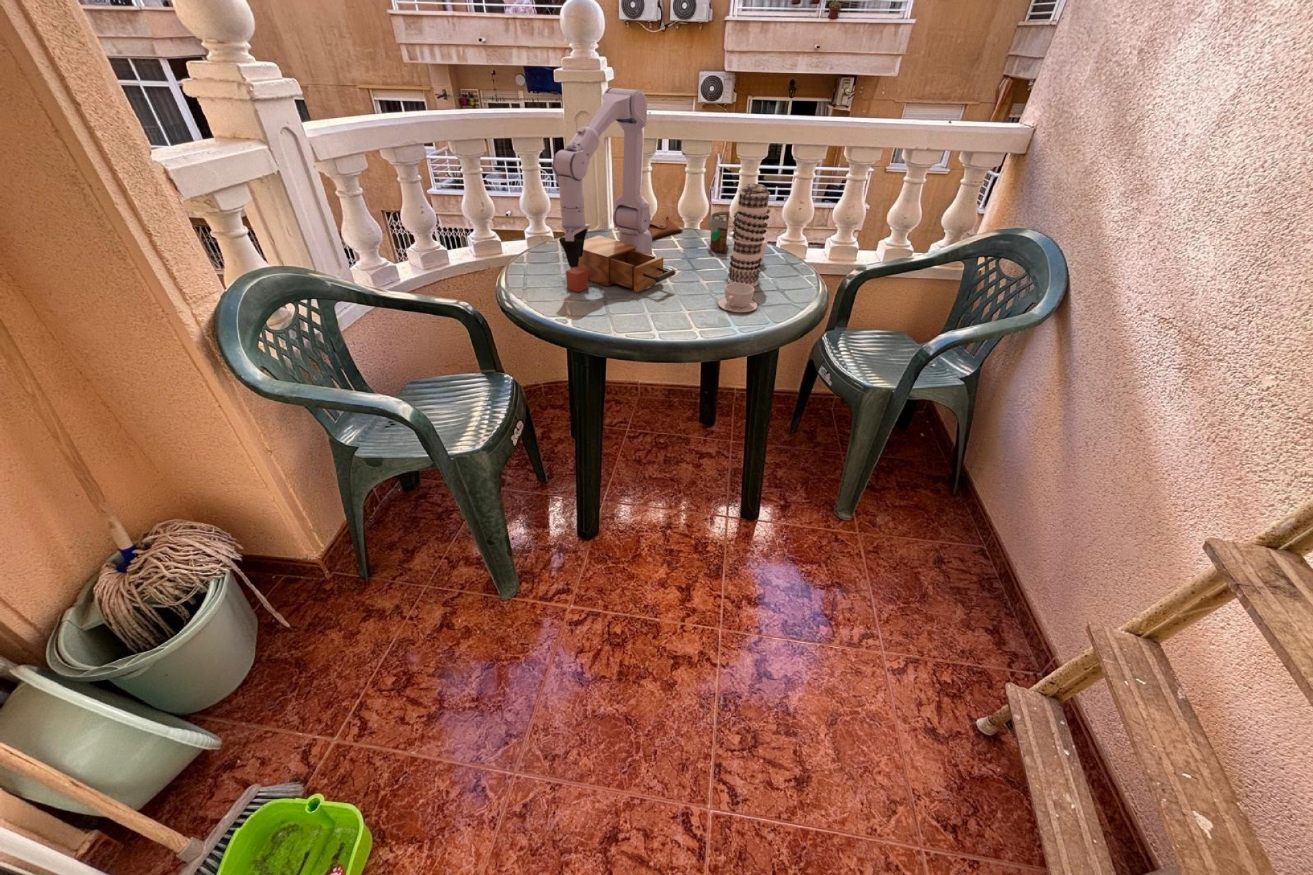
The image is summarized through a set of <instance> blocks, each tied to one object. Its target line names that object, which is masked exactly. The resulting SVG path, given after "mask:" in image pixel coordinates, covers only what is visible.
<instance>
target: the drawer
mask: <svg viewBox="0 0 1313 875" xmlns="http://www.w3.org/2000/svg"><path fill="white" fill-rule="evenodd" d="M608 259H609V281H610V282H613V283H614V284H617V285H620V286H623V287H626V288H629V289H633V291H634V292H635V293H639V292H641V291H643V290H646V289H648V288H649V287H652V286H654V285H656V284H658V283H661V282H664V281H665V280H667V279H669V278H671V277H673V276H675V275H676V270H675V269H671V270H668V269H665V268H664V256H658V257H656V256H655V255H653V254H652V255H649V254H645V253H642V252H638V251H635V250H630V251H627V252H625V253H622V254H619V255H617V256H614V257H611V258H608Z"/></svg>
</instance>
